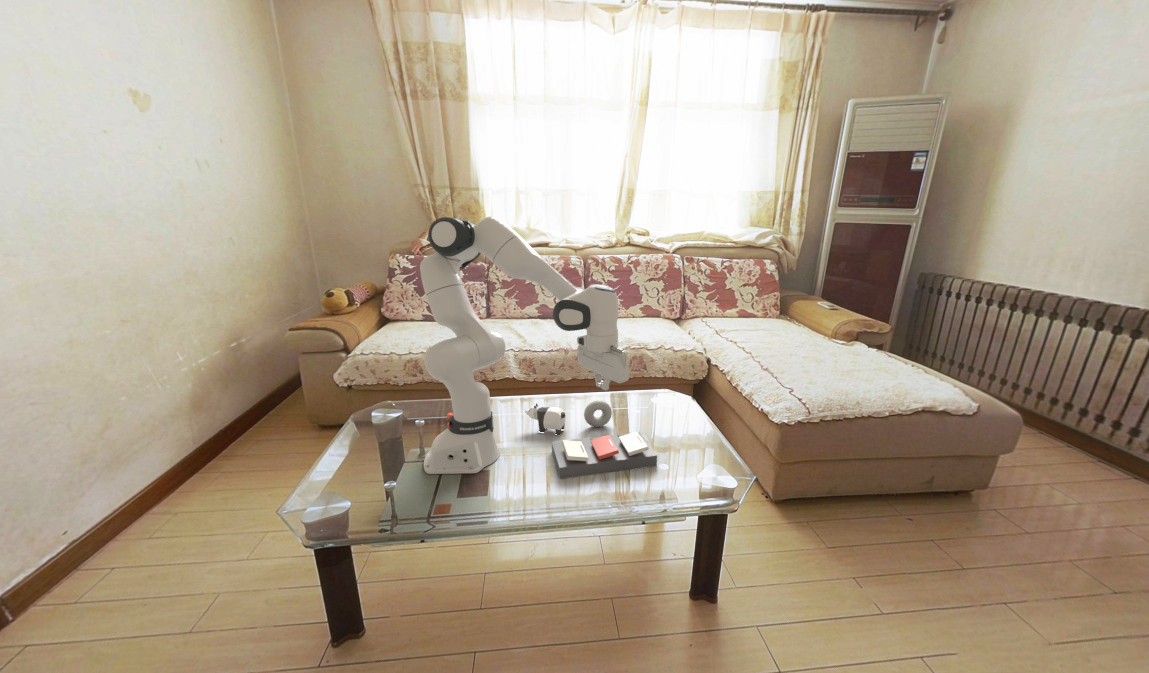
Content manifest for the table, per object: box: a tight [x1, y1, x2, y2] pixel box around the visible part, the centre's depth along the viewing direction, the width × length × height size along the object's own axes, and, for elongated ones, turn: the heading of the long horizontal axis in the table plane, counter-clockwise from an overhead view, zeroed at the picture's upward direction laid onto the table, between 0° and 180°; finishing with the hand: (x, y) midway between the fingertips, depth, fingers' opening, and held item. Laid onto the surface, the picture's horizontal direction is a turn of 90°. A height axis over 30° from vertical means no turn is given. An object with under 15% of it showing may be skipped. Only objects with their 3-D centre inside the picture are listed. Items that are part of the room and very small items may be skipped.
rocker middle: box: [591, 434, 619, 460], centre depth 125 cm, size 6×10×1 cm, turn 12°
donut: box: [583, 399, 613, 428], centre depth 148 cm, size 10×3×10 cm, turn 101°
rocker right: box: [619, 431, 648, 456], centre depth 127 cm, size 6×10×1 cm, turn 12°
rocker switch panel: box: [551, 431, 658, 480], centre depth 128 cm, size 29×15×4 cm, turn 101°
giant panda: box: [524, 402, 566, 436], centre depth 145 cm, size 15×6×10 cm, turn 72°
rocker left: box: [561, 439, 589, 461], centre depth 123 cm, size 6×10×1 cm, turn 11°
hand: (602, 388), depth 122 cm, fingers closed
